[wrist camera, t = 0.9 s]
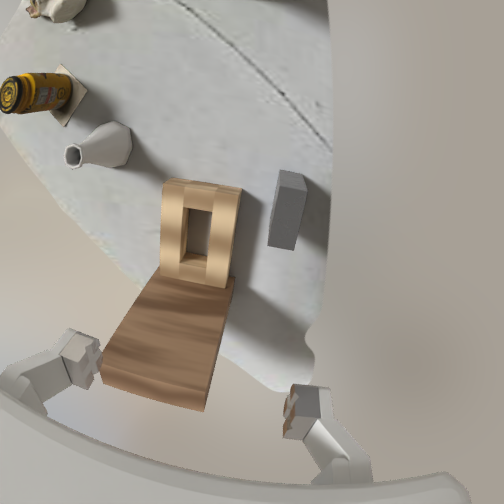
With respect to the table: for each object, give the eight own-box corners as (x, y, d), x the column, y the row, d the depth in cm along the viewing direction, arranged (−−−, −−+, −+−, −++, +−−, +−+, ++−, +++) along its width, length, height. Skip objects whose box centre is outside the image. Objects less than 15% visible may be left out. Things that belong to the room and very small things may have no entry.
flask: (136, 122, 37) (98, 129, 28) (131, 170, 40) (94, 189, 31) (95, 119, 37) (53, 126, 28) (92, 164, 40) (51, 181, 31)
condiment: (60, 63, 32) (8, 61, 22) (88, 90, 35) (35, 92, 24) (39, 99, 35) (-12, 106, 24) (64, 127, 37) (12, 139, 27)
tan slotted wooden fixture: (165, 176, 40) (72, 242, 21) (249, 189, 40) (218, 272, 20) (161, 283, 48) (103, 383, 29) (231, 297, 48) (203, 412, 29)
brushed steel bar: (279, 169, 39) (279, 185, 31) (301, 174, 39) (307, 191, 30) (270, 218, 42) (267, 245, 34) (291, 222, 42) (293, 250, 34)
